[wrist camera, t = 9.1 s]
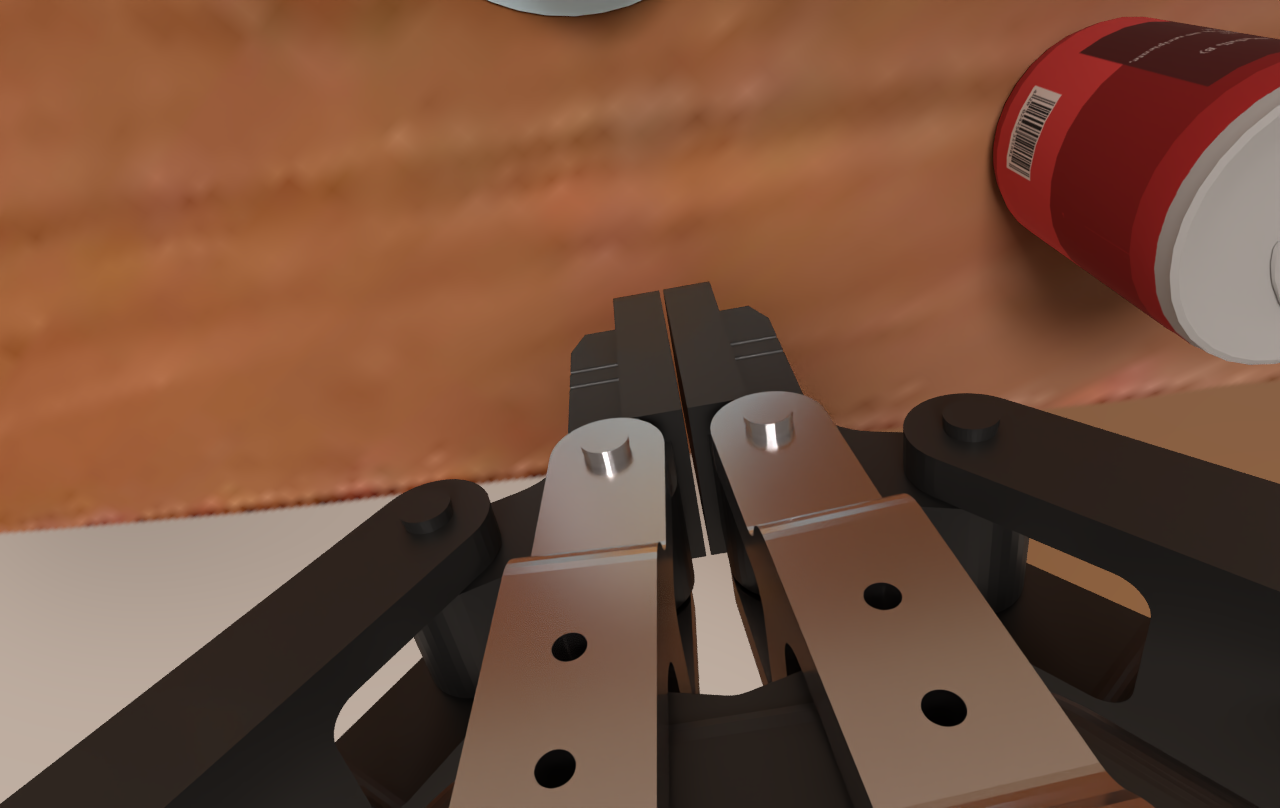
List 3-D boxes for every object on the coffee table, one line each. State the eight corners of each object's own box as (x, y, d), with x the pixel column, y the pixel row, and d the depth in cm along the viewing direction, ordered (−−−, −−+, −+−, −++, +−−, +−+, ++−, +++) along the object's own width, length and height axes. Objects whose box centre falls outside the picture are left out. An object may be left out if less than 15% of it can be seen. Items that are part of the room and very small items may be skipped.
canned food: (1024, 270, 32) (1205, 414, 23) (952, 98, 29) (1133, 186, 19) (1214, 162, 31) (1495, 271, 21) (1163, -36, 27) (1476, -11, 17)
